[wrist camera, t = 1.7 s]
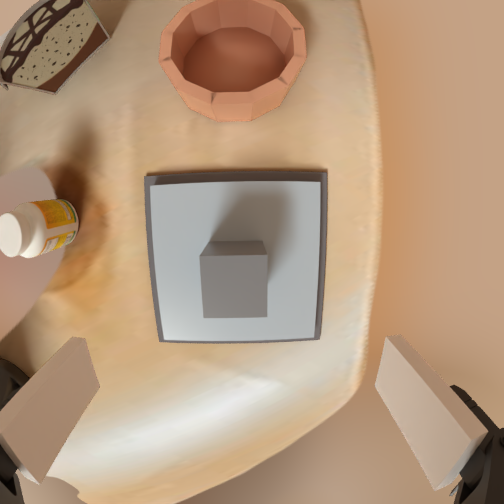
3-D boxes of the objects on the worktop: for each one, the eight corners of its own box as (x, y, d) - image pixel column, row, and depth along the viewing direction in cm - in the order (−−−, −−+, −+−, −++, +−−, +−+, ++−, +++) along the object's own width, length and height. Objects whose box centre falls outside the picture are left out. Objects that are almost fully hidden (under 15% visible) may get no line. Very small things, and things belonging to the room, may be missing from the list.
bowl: (174, 125, 26) (155, 109, 20) (179, 29, 24) (166, -2, 17) (295, 123, 26) (309, 105, 20) (290, 26, 24) (300, -6, 18)
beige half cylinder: (98, 10, 22) (63, -27, 12) (120, 29, 23) (85, -13, 13) (31, 80, 23) (-17, 60, 14) (48, 104, 24) (-5, 86, 15)
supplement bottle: (78, 248, 28) (26, 271, 19) (44, 240, 28) (-8, 259, 19) (82, 201, 27) (27, 208, 18) (48, 195, 27) (-8, 202, 18)
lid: (166, 334, 30) (148, 371, 23) (153, 185, 27) (125, 185, 20) (311, 332, 31) (328, 368, 24) (317, 182, 27) (341, 180, 20)
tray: (160, 340, 31) (159, 341, 30) (145, 176, 27) (144, 176, 27) (318, 337, 31) (319, 339, 31) (325, 172, 28) (326, 172, 27)
